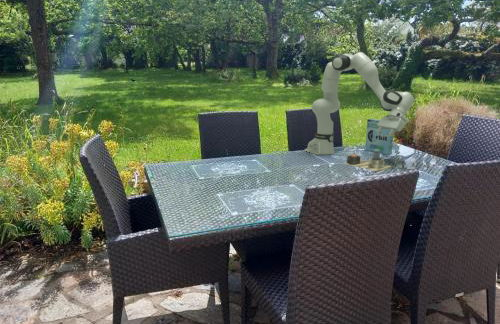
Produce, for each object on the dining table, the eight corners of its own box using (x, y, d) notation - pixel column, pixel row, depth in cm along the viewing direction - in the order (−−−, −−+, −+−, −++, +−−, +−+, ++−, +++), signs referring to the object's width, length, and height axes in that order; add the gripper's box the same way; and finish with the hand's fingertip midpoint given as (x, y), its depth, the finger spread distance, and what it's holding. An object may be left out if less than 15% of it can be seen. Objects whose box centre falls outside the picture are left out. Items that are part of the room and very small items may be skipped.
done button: (349, 157, 266) (349, 154, 265) (353, 156, 268) (353, 153, 268) (354, 159, 263) (354, 155, 262) (358, 158, 265) (358, 154, 265)
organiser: (342, 165, 266) (343, 155, 264) (358, 160, 277) (359, 151, 275) (375, 172, 248) (376, 162, 247) (391, 167, 259) (392, 158, 258)
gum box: (365, 150, 307) (366, 119, 302) (369, 149, 311) (371, 118, 305) (388, 154, 293) (390, 122, 287) (392, 153, 296) (394, 121, 290)
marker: (371, 167, 257) (372, 149, 254) (374, 166, 259) (375, 148, 256) (376, 168, 254) (377, 150, 252) (379, 167, 256) (380, 149, 254)
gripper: (382, 112, 267) (370, 130, 267) (403, 114, 248) (390, 133, 248) (388, 117, 270) (377, 135, 269) (410, 120, 250) (397, 139, 250)
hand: (383, 134), depth 258 cm, fingers open, 8 cm apart
